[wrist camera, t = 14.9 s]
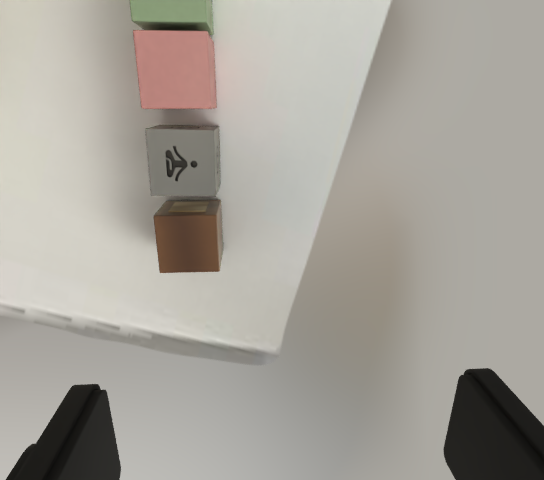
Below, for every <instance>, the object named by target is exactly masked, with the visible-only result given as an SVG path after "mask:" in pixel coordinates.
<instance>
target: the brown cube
mask: <svg viewBox="0 0 544 480" xmlns="http://www.w3.org/2000/svg"><path fill="white" fill-rule="evenodd" d="M154 225H155V234H156V243H157V252H158V261H159V270H160V273H175V272H218V271H220V266H221V260H222V254H223V234H222V212H221V200H181V201H166V202H165V203H164V204H163V205H162V207H161V208H160V209H159V210H158V211H157V213H156V214H155V215H154Z"/></svg>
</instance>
